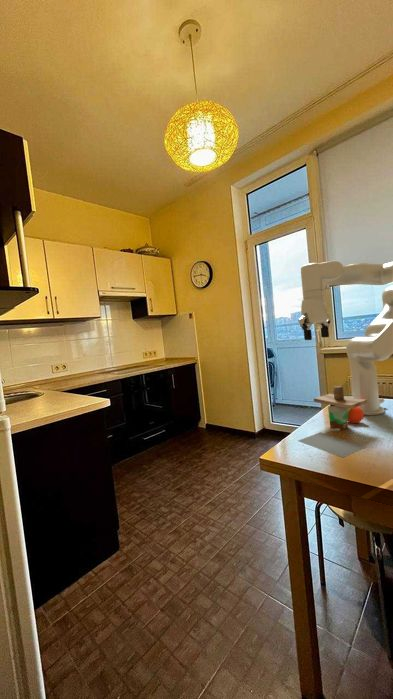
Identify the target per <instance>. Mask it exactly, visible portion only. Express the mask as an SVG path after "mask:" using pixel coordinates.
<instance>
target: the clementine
mask: <svg viewBox="0 0 393 699" xmlns="http://www.w3.org/2000/svg"><path fill="white" fill-rule="evenodd" d="M363 419H364V415H363V411H362V409H361V408H360V407H355V408H352V409H348V410H347V423H351V424H358V423H360V422H361V421H362V420H363Z"/></svg>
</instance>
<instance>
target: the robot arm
mask: <svg viewBox="0 0 393 699" xmlns="http://www.w3.org/2000/svg"><path fill="white" fill-rule="evenodd" d="M300 275H301V276H300V277H301V278H300V279H301V288H302V300H301V306H300V308H301V310H300V312H301V313H300V314H301V317H299V318H298V320H297V322H298V323H299V325H300V327H301V329H302V331H303V337H304V338H303V339H304V340H305V341H312V340H313V337H312V336H313V335H312V334H313V333H312V329H311V327H312V325H318V324H319V325H320V335H321V336H320V337H321V338H329V337H330V333H329V332H330V331H329V328H330V323H331V319H332V315H330V314H329V313H328V311H327V305H326V301H325V297H324V286H343V285H344V286H351V285H365V286H368V285H369V286H384V285H389V284H393V260H392V261H390V262H386V263H366V262H365V263H364V262H357V263H351V264H348V265H345V266H344V265H343V264H342V263H341V262H340V261H338V260H329V261H325V262H321V263H318V262H311V263H308V264H304V265H301V268H300ZM381 300H382V310H381V311H380V313H379V314H378V315H377V316H376V317H374V319H373V320H372V321H371V322H370V323H369V324H368V326H367V327H366V328H365V331H364V336H356V337H352V338H351V339H350V340H348V341H347V344H346V348H345V350H346V356H347V358H348V363H349V366H350V378H351V379H350V380H351V381H350V383H351V393H352V397H353V398H359V399H365V400H367V403H366V404H363V405H361V406H358V407H360V408H361V409H362V411H363V416H378V415H381V414H384V412H385V409H384V407H382V406H381V404H383V403H384V402H385V399H384V398H382V397H381V398H379V396H380V395H379V385H378V384H379V383H378V370H377V366H376V364H375V362H382V361H385V360H387V359H389V358H390V357H391V356H392V355H393V285H390V286H387V287H386V288H385V289H384V290H383V291H382V294H381Z"/></svg>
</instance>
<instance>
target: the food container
mask: <svg viewBox="0 0 393 699" xmlns="http://www.w3.org/2000/svg"><path fill="white" fill-rule="evenodd" d="M327 408H328V409H327V410H328V412H327V413H328V418H329V419H328V420H329V425H330V426H329V428H330V431H331V432H340V431H344V430H346V429H348V425H349V424H348V421H347V410H348V409H349V408H344V407H339V406H334V405H329V406H328V407H327Z"/></svg>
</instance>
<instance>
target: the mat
mask: <svg viewBox="0 0 393 699" xmlns="http://www.w3.org/2000/svg"><path fill="white" fill-rule="evenodd" d="M297 441H298V442H299V443H303V444H305V445H308V446H310V447H314V448H316V449H318V450H320V451H323V452H327V453H330V454H331V455H335V456H336V457H339V458H343V459H344V458H345V457H348V456H350V455H352V454H354V453H356V452H360V451H361V450H363V449H365V448H367V446H364V445H362V444H358V443H356V442H352V441H349V440H346V439H343V438H339V437H337V436H332V435H330V434H326V433H323V432H317V433H315V434H312V435H309V436H306V437H304V438H301V439H298V440H297Z"/></svg>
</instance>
